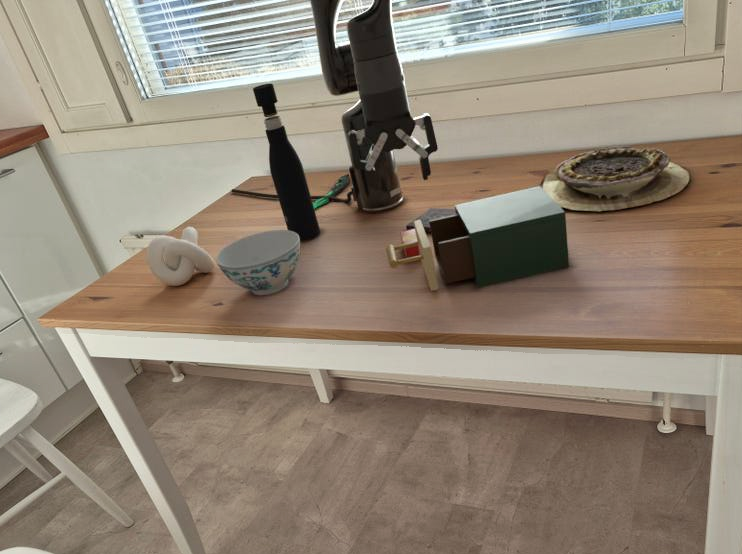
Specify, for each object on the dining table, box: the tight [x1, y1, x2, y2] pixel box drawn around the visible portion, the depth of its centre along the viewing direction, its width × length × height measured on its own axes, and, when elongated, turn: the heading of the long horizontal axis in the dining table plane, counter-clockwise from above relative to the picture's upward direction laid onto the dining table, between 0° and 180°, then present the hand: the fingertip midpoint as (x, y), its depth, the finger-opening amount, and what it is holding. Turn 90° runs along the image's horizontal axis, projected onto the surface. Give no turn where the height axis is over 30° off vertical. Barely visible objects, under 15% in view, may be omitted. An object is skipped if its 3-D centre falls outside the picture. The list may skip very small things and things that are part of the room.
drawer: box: [385, 214, 476, 292], centre depth 109 cm, size 19×12×7 cm, turn 96°
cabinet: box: [454, 185, 570, 288], centre depth 109 cm, size 15×14×9 cm
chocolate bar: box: [405, 207, 456, 233], centre depth 129 cm, size 9×1×18 cm
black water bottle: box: [252, 83, 321, 243], centre depth 133 cm, size 6×6×30 cm
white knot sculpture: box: [146, 226, 215, 287], centre depth 133 cm, size 11×12×9 cm
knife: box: [312, 173, 351, 210], centre depth 162 cm, size 23×1×5 cm
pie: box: [538, 145, 690, 212], centre depth 130 cm, size 28×27×5 cm
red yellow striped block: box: [399, 229, 420, 258], centre depth 122 cm, size 8×3×3 cm, turn 6°
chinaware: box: [215, 229, 301, 296], centre depth 120 cm, size 15×15×8 cm
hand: (401, 184), depth 116 cm, fingers open, 8 cm apart
